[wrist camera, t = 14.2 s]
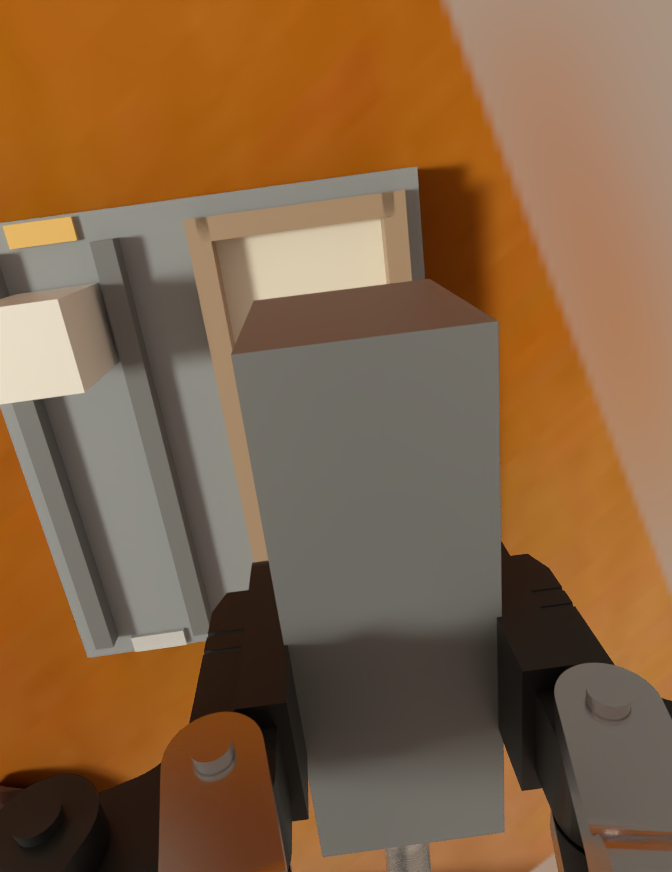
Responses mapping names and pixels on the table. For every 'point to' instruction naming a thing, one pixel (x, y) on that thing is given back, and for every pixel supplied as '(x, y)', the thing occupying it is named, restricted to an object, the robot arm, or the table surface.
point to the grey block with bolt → (384, 553)
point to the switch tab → (53, 343)
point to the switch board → (179, 385)
